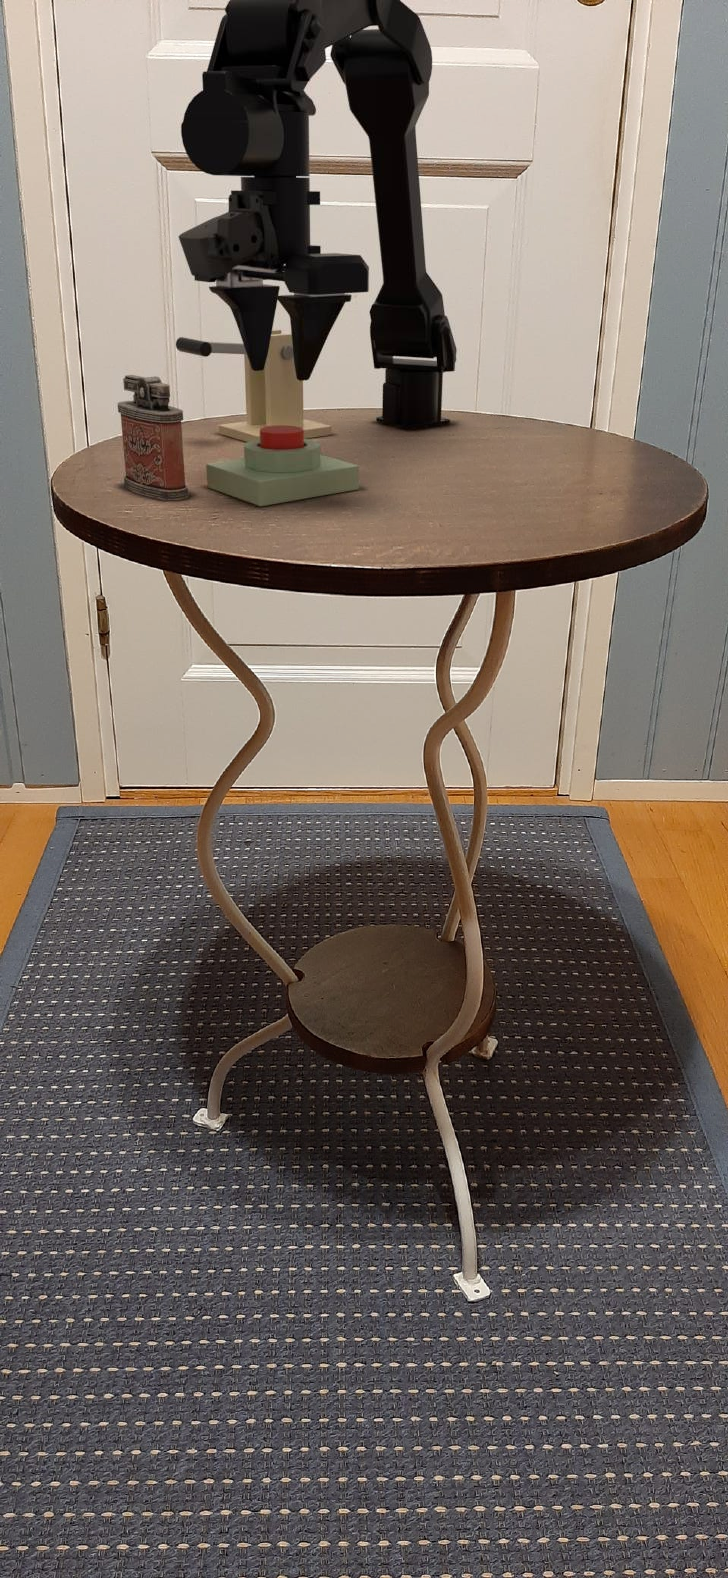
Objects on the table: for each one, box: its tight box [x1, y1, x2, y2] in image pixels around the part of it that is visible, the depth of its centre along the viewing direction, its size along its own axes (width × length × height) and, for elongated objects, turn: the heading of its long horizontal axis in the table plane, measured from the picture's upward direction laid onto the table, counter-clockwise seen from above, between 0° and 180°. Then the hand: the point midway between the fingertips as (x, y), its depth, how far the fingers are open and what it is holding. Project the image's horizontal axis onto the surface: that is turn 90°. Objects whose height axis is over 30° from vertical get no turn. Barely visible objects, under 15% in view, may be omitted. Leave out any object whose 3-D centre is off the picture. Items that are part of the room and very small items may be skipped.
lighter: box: [117, 374, 189, 501], centre depth 103 cm, size 8×3×10 cm, turn 43°
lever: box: [175, 336, 247, 358], centre depth 123 cm, size 12×5×2 cm, turn 128°
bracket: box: [218, 328, 332, 443], centre depth 128 cm, size 10×8×11 cm
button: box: [260, 425, 304, 450], centre depth 105 cm, size 4×4×2 cm
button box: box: [205, 438, 360, 507], centre depth 106 cm, size 11×9×4 cm
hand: (279, 375), depth 103 cm, fingers open, 7 cm apart
